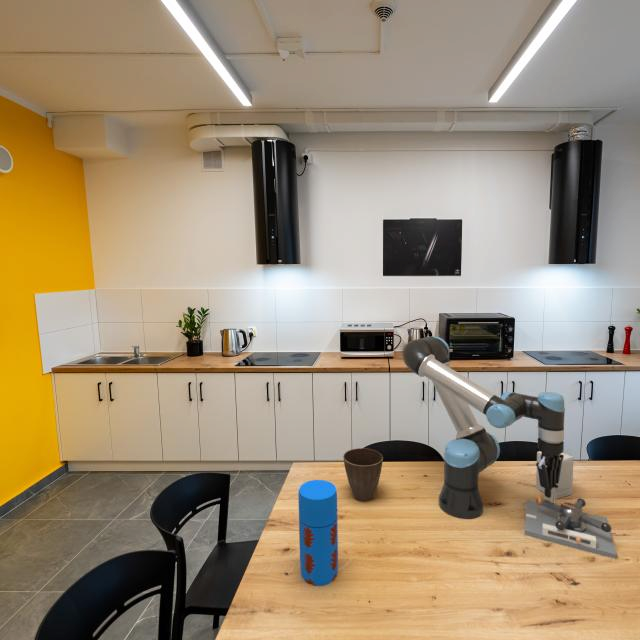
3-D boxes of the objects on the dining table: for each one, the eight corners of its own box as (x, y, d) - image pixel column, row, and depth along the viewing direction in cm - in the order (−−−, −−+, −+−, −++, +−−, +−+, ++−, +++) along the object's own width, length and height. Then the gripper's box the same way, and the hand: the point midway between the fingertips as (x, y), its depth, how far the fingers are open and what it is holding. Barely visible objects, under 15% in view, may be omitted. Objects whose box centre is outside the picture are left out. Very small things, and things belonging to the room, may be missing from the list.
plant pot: (338, 503, 147) (338, 462, 146) (350, 483, 161) (349, 445, 159) (378, 510, 142) (378, 468, 140) (386, 489, 156) (386, 451, 154)
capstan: (599, 558, 114) (600, 537, 113) (521, 523, 130) (522, 505, 130) (620, 527, 128) (621, 508, 127) (547, 499, 144) (548, 482, 143)
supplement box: (573, 494, 150) (575, 457, 148) (555, 499, 147) (557, 461, 145) (551, 483, 158) (553, 447, 157) (534, 487, 155) (536, 451, 154)
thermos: (325, 592, 106) (323, 504, 103) (292, 576, 111) (290, 493, 109) (344, 566, 115) (343, 485, 112) (313, 553, 120) (312, 476, 118)
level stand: (524, 535, 127) (524, 524, 127) (526, 503, 145) (526, 493, 144) (616, 560, 115) (617, 548, 115) (606, 521, 133) (607, 511, 133)
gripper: (549, 430, 138) (548, 493, 141) (528, 440, 132) (527, 506, 135) (572, 437, 132) (570, 503, 135) (551, 448, 126) (550, 517, 128)
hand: (549, 504), depth 135 cm, fingers closed
